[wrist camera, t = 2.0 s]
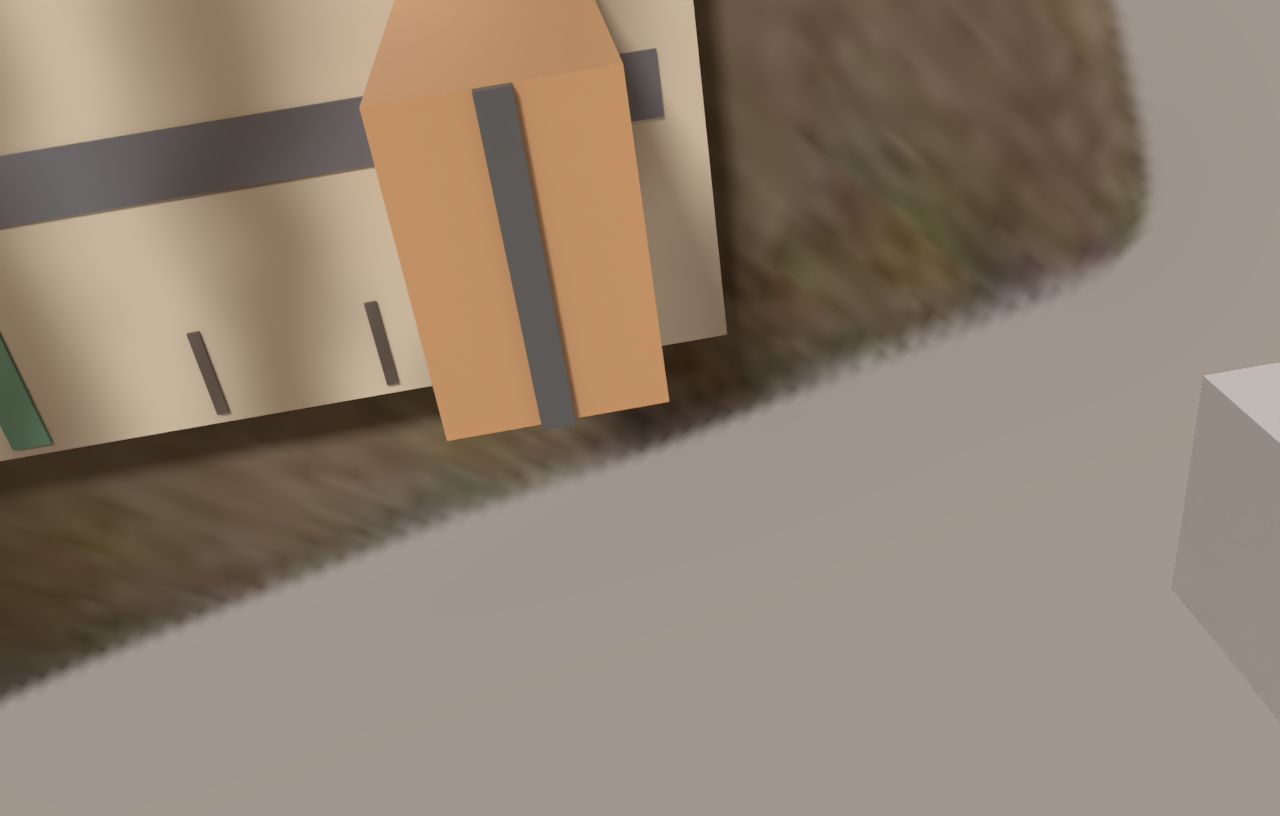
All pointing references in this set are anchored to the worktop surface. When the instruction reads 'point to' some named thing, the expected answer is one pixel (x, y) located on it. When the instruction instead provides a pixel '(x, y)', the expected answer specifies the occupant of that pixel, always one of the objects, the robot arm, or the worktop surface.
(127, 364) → the fader board
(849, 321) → the worktop surface
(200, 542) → the worktop surface
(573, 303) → the block
